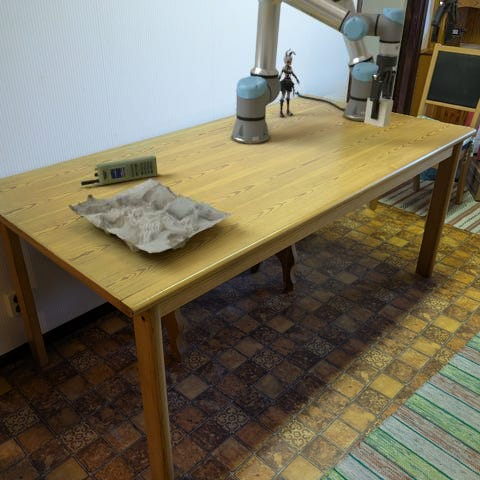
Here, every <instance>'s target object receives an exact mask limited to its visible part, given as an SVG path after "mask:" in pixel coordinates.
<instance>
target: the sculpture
mask: <svg viewBox="0 0 480 480" xmlns="http://www.w3.org/2000/svg"><path fill="white" fill-rule="evenodd" d="M68 208H69V209H70V210H71V211H72V213H74V214H75V215H78V216H79V218H80V219H83V218H85V219H86V220H87V221H89V222H91V223H92V224H93V225H94V226H95V227H96V228H98V229H101V230H103V231H104V232H105V233H106V234H107V235H108V236H110V235H111V234H113V235H116V236H117V237H118V238H120V239H121V240H123V241H124V243H125V244H127V246H128V248H129V249H130V251H131V252H132V253H133V252H134V253H136V252H139V251H141V250H142V251H145V252H147V253H149V254H152V253H162V252H164V251H166V250H169V249H173V250H177V249H178V248H181V249H182V248H184V247H185V245H186V243H187V242H188V241H190V239H191V238H192V237H193V236H194V235H196V234H199V233H200V232H202V231H204V230H206V229H208V228H213V226H215V224H219V222H222V221H223V220H224V219H226V218H229V217H230V216H232V213H227V212H226V211H225V212H224V211H222V210H219V209H216V208H214V207H213V206H212V205H211V204H210V203H205V202H204V201H196V200H194V199H192V198H189V196H184V195H181V194H178V195H177V194H175V193H174V192H173V190H172V189H171V188H170V186H167V185H163V184H162V183H161V182H160V181H159V180H156V179H153V178H149V179H147V180H145V181H143V182H141V183H139V184H136V185H134V186H133V187H130V188H129V189H125V190H123V191H121V192H120V193H117V194H115V195H113V196H111V197H109V198H101V199H99V198H96V197H94V196H93V194H88V195H87V197H86V200H85V201H82V202H80V201H79V202H78V203H77V205H72V204H68Z"/></svg>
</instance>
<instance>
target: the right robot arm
mask: <svg viewBox="0 0 480 480" xmlns="http://www.w3.org/2000/svg"><path fill="white" fill-rule="evenodd" d="M331 1H333V2H335V3H337V4H339V5H341V6H343V7H344V8H346V9H348V10H350V11H352V12H354V13H358V11H357V9H356V7H355V2H354V0H331ZM458 7H459V0H438V4H437V7H436V10H435V12H434V15H433V17H432V20H431V23H430V26H431V27H433V28H432V32H431V37H430V43H432V44H433V43H435V44H438V40H439V36H440V35H439V34H440V30H441V24H442V21H443V19H444V18H445V16H446V14H447V18H448V23H447V26H446V31H445V36H444V40H449V41H452V38H453V33H454V28H455V25H457V24H458V22H459V21H458V18H459V15H458V14H459V9H458ZM341 34H342V33H341ZM341 36H342V38H343V41H344V44H345V47H346V51H347V54H348V57H349V60H348V62H347V65H348V69H349V72H350V76H351V85H350V92H349V100H348V102H347V105H346V107H341V106H339V105H338V104H335V103H334V102H331V101H330V100H327V99H323V98H316V97H311V96H306V95H302V94H300V93H299V91H298V90H297V93H296V92H295V93H296V94H295V95H297V96H298V97H299V98H303V99H309V100H314V101H319V102H324V103H327V104H329V105H331V106H333V107H335V108H337V109H338V110H341V111H343V117H344V118H345V119H347V120H350V121H353V122H364V120H365V113H366V106H367V99H368V98H370V93H371V86H372V75H373V74H376V73H377V70H378V66H377V65H376V61H375V60H374V59H375V58H374V55H373V54H372V53H370V52H369V50H368V47H367V44H366V40H365V37H364V38H363V39H361V40H358V41H350V40H348V39H347V38H346V37H345V35H344V34H342V35H341Z"/></svg>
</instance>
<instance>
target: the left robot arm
mask: <svg viewBox="0 0 480 480" xmlns="http://www.w3.org/2000/svg"><path fill="white" fill-rule="evenodd" d="M257 2H258V7H257V20H256V21H257V23H256V35H255V36H256V38H255V52H254V54H255V55H254V66H253V67H252V68H251V69H250V73H249V76H247V77H246V76H245V77H242V78H240V79H239V80H238V81H237V82H236V89H235V92H236V93H235V94H236V119H235V123H234V125H233V129H232V133H231V140H233V141H234V142H236V143H240V144H246V145H247V144H248V145H257V144H262V143H266V142H268V141H269V140H270V130H269V127H268V124H267V121H266V112H267V108H266V107H267V106H268V105H270V104H272V103H273V102H275V100H277V98H278V97H279V95H280V94H281V93H280V92H281V91H280V89H281V85H280V81H281V80H280V81H279V80H278V77H279V75H280V71H279V70H278V69H277V67H276V66H277V56H278V45H279V43H278V42H279V34H280V33H279V32H280V19H281V8H282V3H285V4H286V5H289V6H290V7H291V8H293V9H295V10H297V11H299V12H301V13H303V14H305V15H307V16H308V17H310V18H312V19H314V20H316V21H318V22H319V23H322V24H324V25H326V26H328V27H329V28H331V29H333V30H335V31H337V32H339V33H340V34H344V35H345V37H346V38H347V39H348V40H350V41H358V40H361V39H363V38H364V39H365V37H379V38H378V45H377V51H376V53H377V55H376V58H375V64H376V65H377V66H378V70H377V73H376V74H373V75H372V86H371V93H370V101H372V102H373V104H372V111H371V119H375V120H377V119H378V113H379V107H380V102H379V100H380V98H384V99H389V100H392V96H393V91H394V90H393V89H394V85H395V78H396V75H397V70H395V69H394V68H396V67H397V64H398V58H399V57H398V55H399V53H400V52H399V51H400V49H401V46H400V45H401V41H402V40H401V38H402V34H403V29H404V24H405V15H406V13H405V10H404V9H403V8H398V7H385V8H383V11H382V13H372V12H371V13H369V12H361V11H359V12H358V11H357V13H354V12H352V11H350V10H348V9H346V8H344V7H343V6H341V5H339V4H337V3H335V2H333V1H331V0H257Z"/></svg>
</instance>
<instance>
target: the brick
mask: <svg viewBox="0 0 480 480" xmlns="http://www.w3.org/2000/svg"><path fill="white" fill-rule="evenodd" d="M379 102H380V107H379V113H378V119H377V120H375V119H371V111H372V104H373V102H372V101H370V98H368V99H367V106H366V113H365V120H364V121H363V123H364V124H366V125H367V124H368V125H371V126H375V127H378V128H385V127H386V128H387V127H388V126H390V125H391V124H390V123H391V118H392V111H393V106H394V100H393V99H390V100H389V99H384V98H382V97H380V100H379Z"/></svg>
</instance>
